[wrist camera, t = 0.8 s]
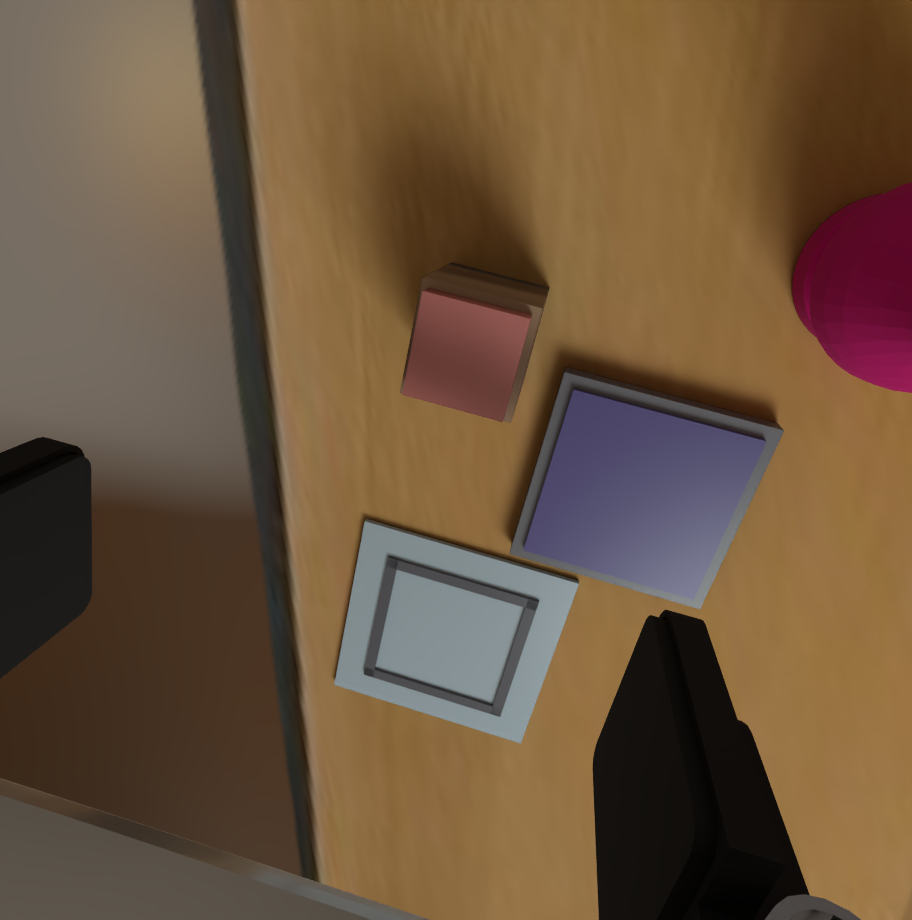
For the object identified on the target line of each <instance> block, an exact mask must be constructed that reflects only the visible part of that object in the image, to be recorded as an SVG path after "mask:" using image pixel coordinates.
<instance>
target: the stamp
mask: <svg viewBox="0 0 912 920" xmlns="http://www.w3.org/2000/svg"><path fill="white" fill-rule="evenodd" d="M548 291H549V288H548V287H545V286H541V285H537V284H533V283H529V282H525V281H521V280H517V279H513V278H509V277H505V276H502V275H498V274H494V273H490V272H486V271H482V270H478V269H474V268H470V267H466V266H462V265H459V264H455V263H450V264H448V265H446V266H444V267H442V268H440V269H438V270H436V271H434V272H432V273H430V274H428V275H426V276H424V277H422V282H421V287H420V292H419V297H418V302H417V307H416V313H415V318H414V323H413V328H412V333H411V338H410V343H409V349H408V354H407V359H406V364H405V369H404V374H403V380H402V385H401V390H400V393H402V395H406V396H409V397H413V398H417V399H420V400H424V401H428V402H431V403H435V404H439V405H442V406H446V407H449V408H453V409H457V410H460V411H464V412H468V413H471V414H475V415H479V416H482V417H486V418H490V419H493V420H497V421H501V422H503V421H506V422H509V423H511V421H512V418H513V414H514V411H515V408H516V405H517V401H518V398H519V395H520V391H521V388H522V385H523V382H524V378H525V374H526V371H527V367H528V363H529V360H530V356H531V353H532V349H533V345H534V342H535V338H536V335H537V331H538V327H539V324H540V320H541V317H542V313H543V309H544V306H545V302H546V299H547V295H548Z"/></svg>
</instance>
